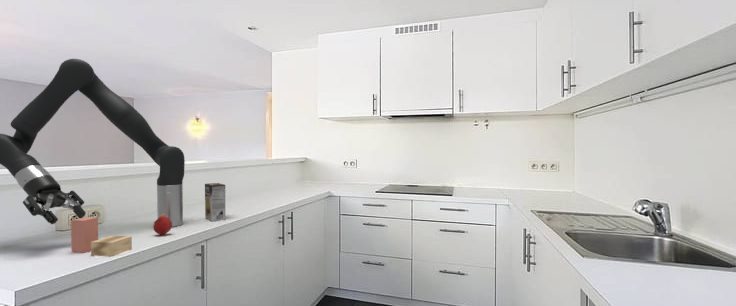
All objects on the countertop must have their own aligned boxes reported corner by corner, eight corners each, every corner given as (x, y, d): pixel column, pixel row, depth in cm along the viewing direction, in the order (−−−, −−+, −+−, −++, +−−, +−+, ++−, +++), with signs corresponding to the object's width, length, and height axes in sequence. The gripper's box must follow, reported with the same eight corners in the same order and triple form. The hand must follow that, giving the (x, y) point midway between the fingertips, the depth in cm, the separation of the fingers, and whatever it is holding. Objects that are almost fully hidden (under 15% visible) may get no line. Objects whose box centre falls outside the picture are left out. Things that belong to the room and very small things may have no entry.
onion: (163, 238, 118) (162, 216, 118) (149, 237, 119) (149, 215, 119) (175, 234, 124) (175, 212, 124) (162, 233, 125) (162, 212, 125)
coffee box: (204, 218, 152) (204, 183, 151) (219, 216, 156) (218, 182, 156) (211, 221, 145) (210, 185, 145) (226, 219, 149) (225, 184, 149)
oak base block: (91, 255, 98) (90, 241, 98) (112, 248, 105) (111, 235, 105) (111, 256, 97) (111, 242, 97) (131, 248, 104) (131, 236, 104)
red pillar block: (71, 252, 101) (71, 220, 101) (85, 248, 106) (85, 217, 105) (84, 253, 100) (83, 220, 100) (98, 248, 105) (97, 217, 105)
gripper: (18, 176, 97) (52, 215, 96) (68, 172, 112) (98, 207, 110) (3, 193, 98) (37, 233, 97) (54, 188, 112) (84, 222, 111)
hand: (69, 219), depth 104 cm, fingers open, 8 cm apart
